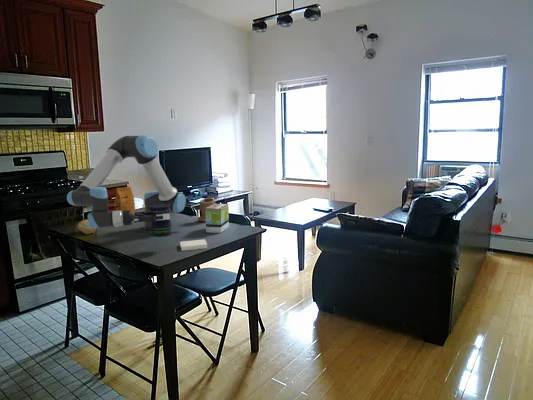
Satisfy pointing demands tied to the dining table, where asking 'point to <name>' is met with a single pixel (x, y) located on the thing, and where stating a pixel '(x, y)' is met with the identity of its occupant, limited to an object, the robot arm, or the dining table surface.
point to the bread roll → (85, 227)
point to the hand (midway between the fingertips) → (169, 214)
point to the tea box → (217, 218)
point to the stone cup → (203, 205)
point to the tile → (193, 245)
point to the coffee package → (124, 200)
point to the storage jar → (161, 226)
